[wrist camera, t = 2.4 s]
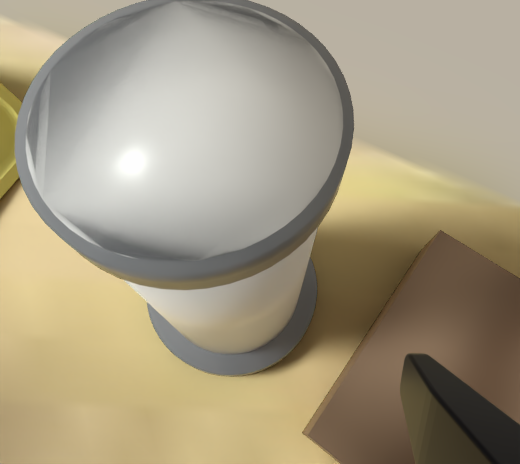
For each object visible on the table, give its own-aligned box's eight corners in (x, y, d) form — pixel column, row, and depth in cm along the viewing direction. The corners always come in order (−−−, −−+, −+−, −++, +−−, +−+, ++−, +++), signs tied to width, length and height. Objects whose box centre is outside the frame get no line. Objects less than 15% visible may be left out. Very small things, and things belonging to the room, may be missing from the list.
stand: (629, 382, 18) (681, 377, 16) (532, 619, 15) (580, 655, 13) (421, 250, 21) (440, 230, 19) (302, 432, 18) (307, 435, 16)
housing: (346, 275, 20) (459, 79, 8) (248, 414, 18) (212, 416, 6) (221, 190, 22) (168, -69, 10) (118, 307, 20) (-104, 148, 8)
